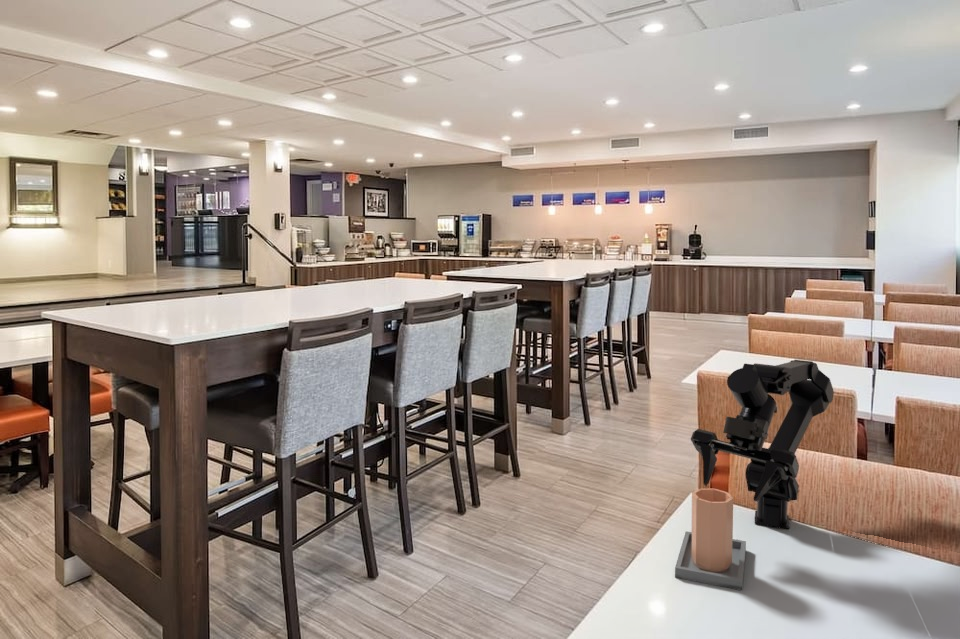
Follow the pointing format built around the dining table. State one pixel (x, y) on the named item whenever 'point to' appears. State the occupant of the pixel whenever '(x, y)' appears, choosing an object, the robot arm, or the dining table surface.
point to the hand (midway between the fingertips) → (729, 492)
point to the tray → (725, 579)
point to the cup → (712, 530)
